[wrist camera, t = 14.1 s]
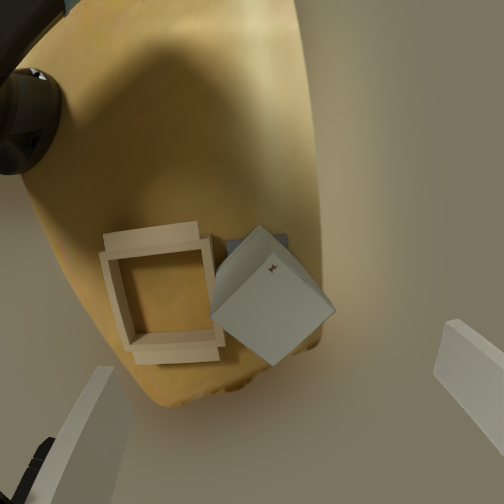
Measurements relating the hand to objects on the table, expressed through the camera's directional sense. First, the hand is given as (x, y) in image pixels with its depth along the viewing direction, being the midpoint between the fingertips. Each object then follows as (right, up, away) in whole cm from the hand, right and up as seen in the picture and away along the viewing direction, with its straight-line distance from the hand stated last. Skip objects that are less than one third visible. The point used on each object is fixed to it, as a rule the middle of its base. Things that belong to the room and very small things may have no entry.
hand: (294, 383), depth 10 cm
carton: (-12, 0, +25) cm, 28 cm away
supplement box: (-1, +3, +25) cm, 25 cm away
